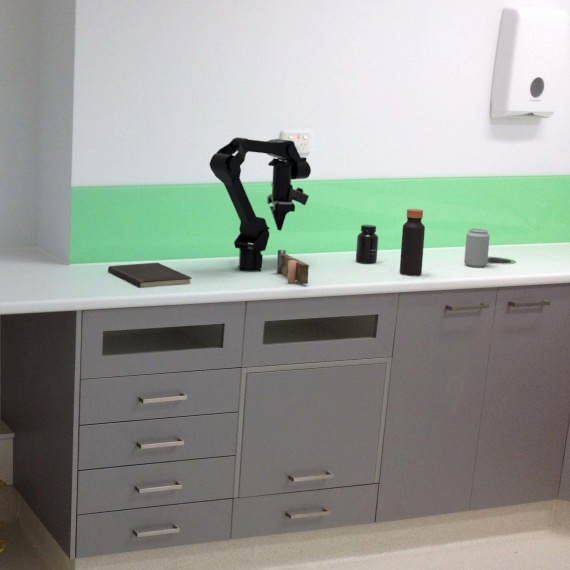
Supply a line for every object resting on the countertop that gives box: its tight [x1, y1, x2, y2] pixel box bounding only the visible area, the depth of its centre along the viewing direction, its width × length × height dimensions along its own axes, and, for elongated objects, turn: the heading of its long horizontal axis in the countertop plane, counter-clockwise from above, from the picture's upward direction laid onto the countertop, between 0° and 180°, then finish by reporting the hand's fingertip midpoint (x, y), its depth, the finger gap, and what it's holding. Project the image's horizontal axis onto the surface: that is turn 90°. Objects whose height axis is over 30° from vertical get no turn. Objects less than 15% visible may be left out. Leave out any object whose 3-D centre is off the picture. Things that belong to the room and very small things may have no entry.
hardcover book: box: [107, 262, 193, 289], centre depth 309 cm, size 16×23×2 cm
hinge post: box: [276, 249, 287, 275], centre depth 323 cm, size 2×2×7 cm
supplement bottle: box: [355, 224, 379, 265], centre depth 347 cm, size 7×7×12 cm
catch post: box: [287, 260, 297, 285], centre depth 310 cm, size 2×2×6 cm
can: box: [463, 228, 491, 268], centre depth 349 cm, size 8×8×12 cm
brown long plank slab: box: [281, 253, 310, 285], centre depth 314 cm, size 16×2×6 cm, turn 23°
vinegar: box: [399, 208, 426, 277], centre depth 330 cm, size 7×7×20 cm
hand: (279, 230), depth 334 cm, fingers closed
